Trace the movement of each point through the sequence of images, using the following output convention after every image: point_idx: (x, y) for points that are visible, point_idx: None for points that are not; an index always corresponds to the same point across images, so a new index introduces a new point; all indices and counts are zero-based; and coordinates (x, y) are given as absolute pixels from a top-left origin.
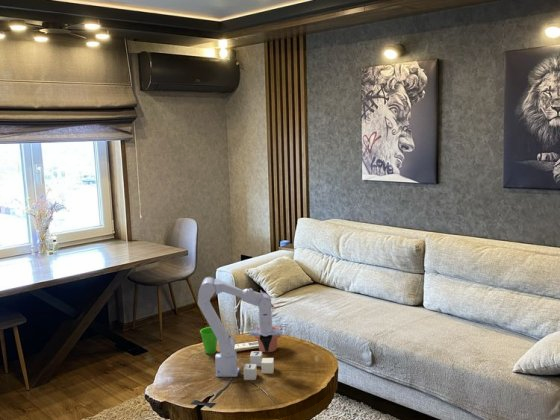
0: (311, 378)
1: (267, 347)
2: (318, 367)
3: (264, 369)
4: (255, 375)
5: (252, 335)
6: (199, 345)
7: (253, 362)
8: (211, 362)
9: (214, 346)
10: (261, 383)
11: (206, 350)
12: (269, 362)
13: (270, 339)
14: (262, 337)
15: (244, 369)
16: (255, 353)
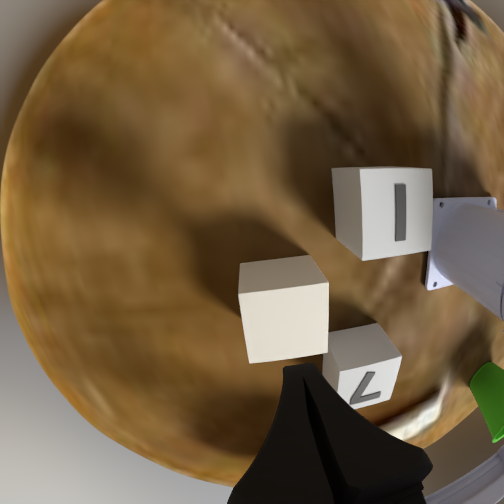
0: (41, 232)
1: (294, 396)
2: (57, 334)
3: (296, 266)
4: (340, 176)
5: (496, 455)
6: None
7: (370, 337)
8: None
9: (487, 385)
10: (283, 123)
11: (498, 366)
12: (264, 298)
13: (242, 495)
14: (389, 493)
15: (425, 168)
16: (370, 388)
